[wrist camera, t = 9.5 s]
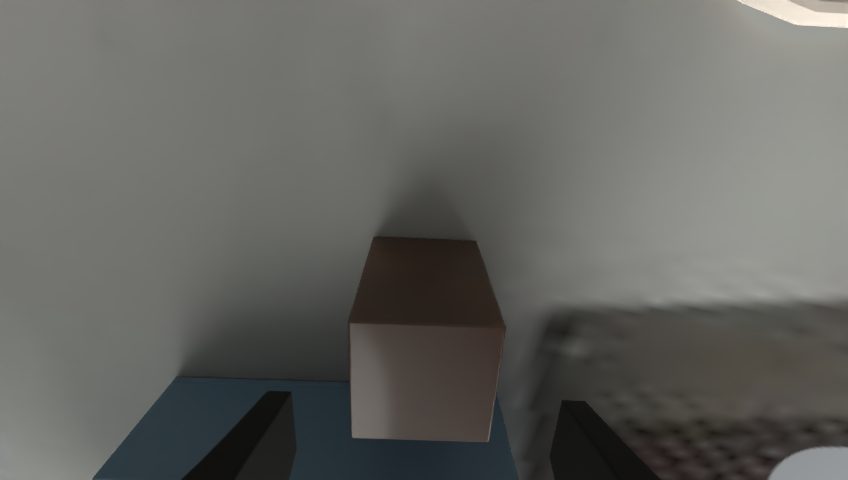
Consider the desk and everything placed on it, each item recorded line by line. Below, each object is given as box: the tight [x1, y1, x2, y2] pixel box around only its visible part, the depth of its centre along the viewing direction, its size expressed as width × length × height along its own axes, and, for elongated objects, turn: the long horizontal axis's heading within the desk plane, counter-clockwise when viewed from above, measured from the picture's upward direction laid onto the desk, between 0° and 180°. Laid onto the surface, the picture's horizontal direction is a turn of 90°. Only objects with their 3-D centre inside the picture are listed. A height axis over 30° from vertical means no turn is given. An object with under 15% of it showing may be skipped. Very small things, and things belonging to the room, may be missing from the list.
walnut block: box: [348, 237, 506, 442], centre depth 15 cm, size 4×4×6 cm
